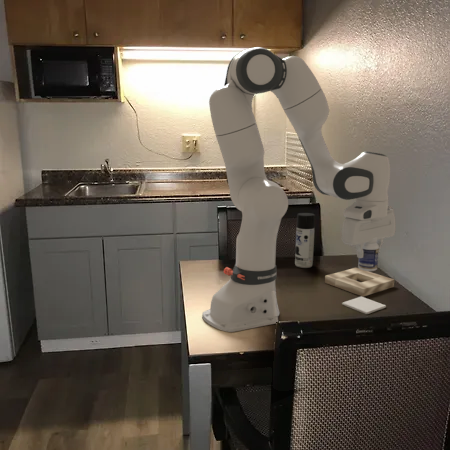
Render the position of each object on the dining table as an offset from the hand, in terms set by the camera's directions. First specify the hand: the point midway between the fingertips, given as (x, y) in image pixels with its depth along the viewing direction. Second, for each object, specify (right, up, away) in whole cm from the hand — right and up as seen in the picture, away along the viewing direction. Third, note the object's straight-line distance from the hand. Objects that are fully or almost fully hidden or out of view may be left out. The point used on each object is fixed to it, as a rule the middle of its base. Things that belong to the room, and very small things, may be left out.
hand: (368, 255), depth 138 cm
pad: (0, -15, +3) cm, 16 cm away
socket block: (+3, -11, +22) cm, 25 cm away
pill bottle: (0, -4, +1) cm, 4 cm away
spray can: (-12, -7, +42) cm, 44 cm away
